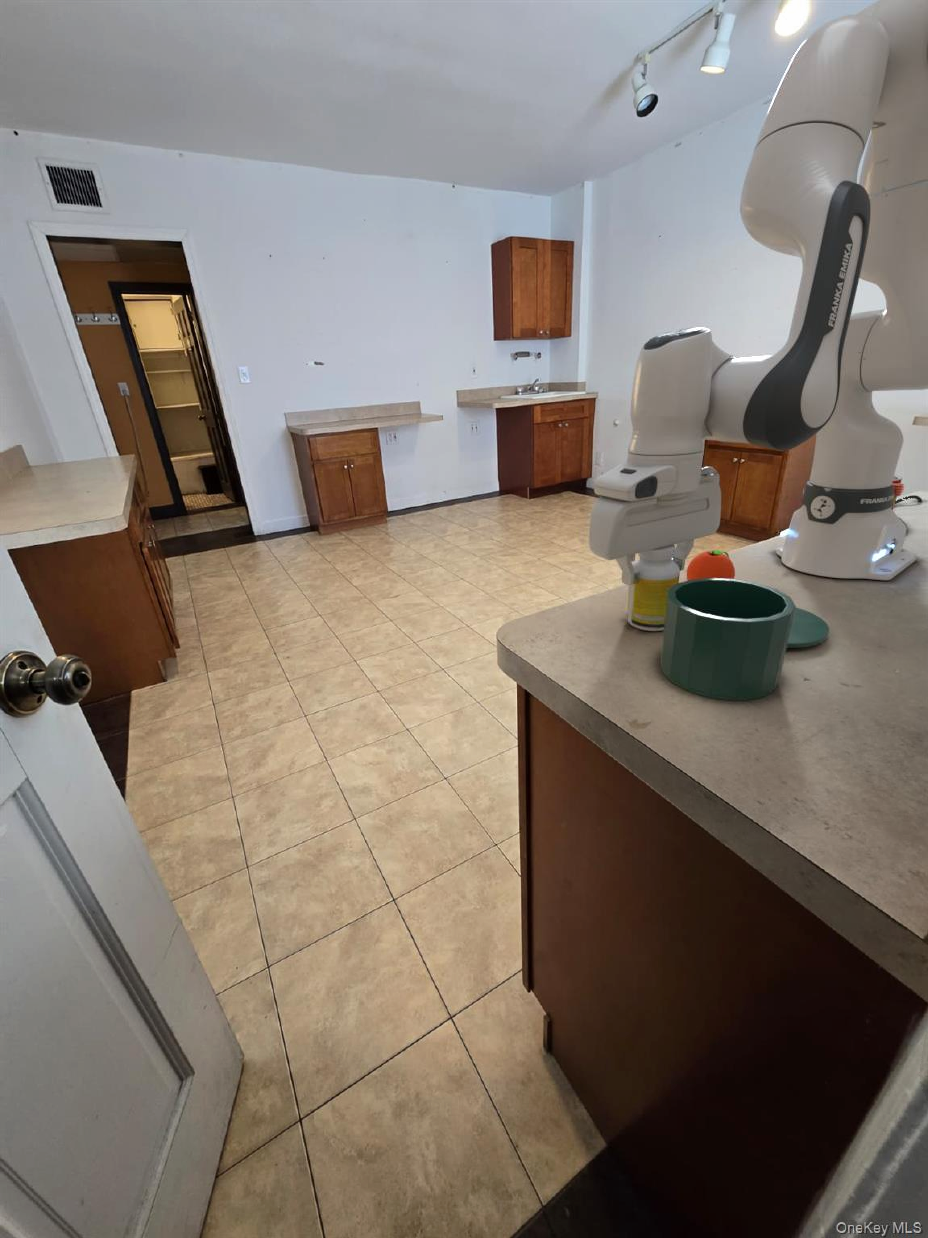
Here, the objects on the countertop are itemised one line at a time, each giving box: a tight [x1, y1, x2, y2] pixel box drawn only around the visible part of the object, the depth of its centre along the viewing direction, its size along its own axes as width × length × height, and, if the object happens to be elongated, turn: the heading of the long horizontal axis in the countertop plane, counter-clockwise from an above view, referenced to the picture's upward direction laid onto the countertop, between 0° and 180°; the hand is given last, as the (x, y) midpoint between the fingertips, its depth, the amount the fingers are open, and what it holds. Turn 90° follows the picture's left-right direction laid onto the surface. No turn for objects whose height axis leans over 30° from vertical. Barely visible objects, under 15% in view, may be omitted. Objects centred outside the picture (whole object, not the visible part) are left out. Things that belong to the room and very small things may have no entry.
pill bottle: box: [626, 544, 681, 632], centre depth 72 cm, size 6×6×12 cm
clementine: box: [686, 549, 736, 581], centre depth 81 cm, size 8×7×7 cm
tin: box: [659, 578, 797, 702], centre depth 59 cm, size 13×13×10 cm
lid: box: [786, 607, 830, 649], centre depth 69 cm, size 14×14×5 cm
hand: (652, 576), depth 71 cm, fingers open, 7 cm apart
